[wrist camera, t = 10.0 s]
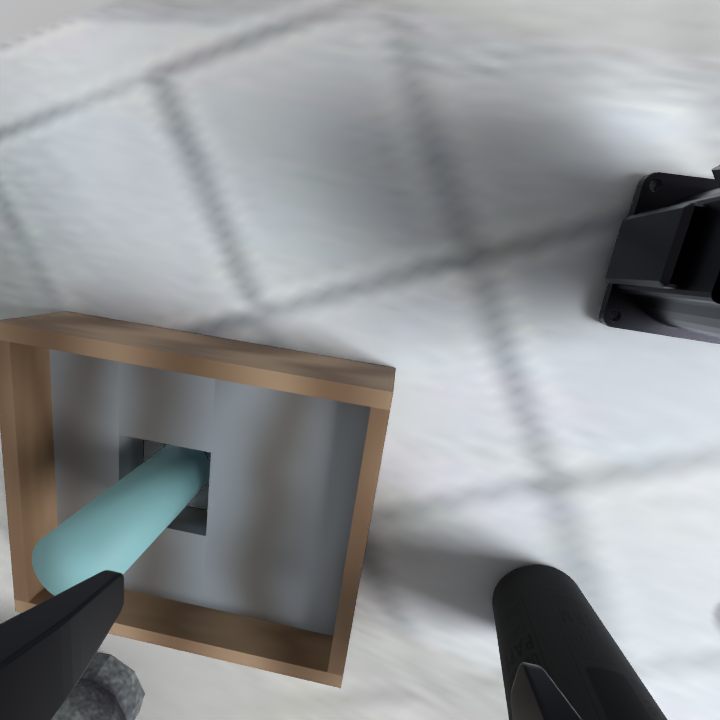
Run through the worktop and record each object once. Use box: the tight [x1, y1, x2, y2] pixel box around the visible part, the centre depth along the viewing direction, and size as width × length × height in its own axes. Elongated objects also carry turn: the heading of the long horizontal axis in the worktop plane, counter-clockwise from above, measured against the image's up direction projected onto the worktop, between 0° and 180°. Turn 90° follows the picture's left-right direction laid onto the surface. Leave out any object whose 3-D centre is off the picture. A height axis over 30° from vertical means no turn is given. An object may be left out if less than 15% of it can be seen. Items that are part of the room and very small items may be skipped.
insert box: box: [0, 311, 396, 688], centre depth 21 cm, size 18×16×4 cm
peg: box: [32, 444, 210, 596], centre depth 19 cm, size 3×3×8 cm
